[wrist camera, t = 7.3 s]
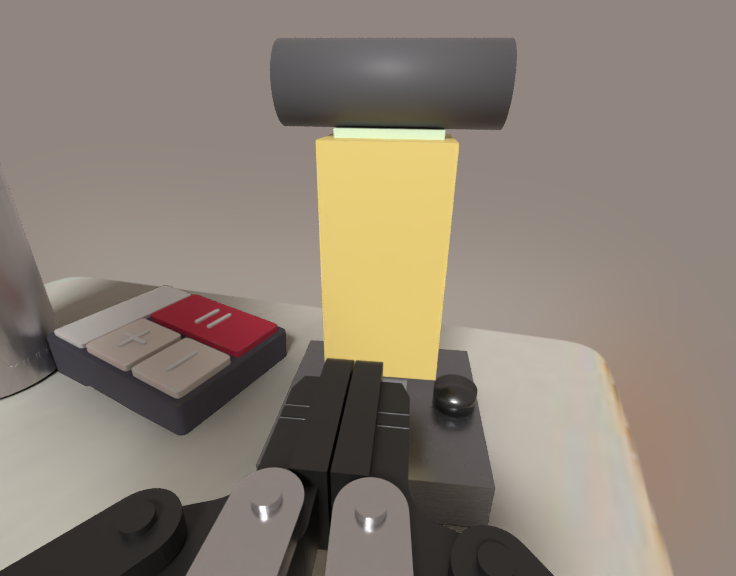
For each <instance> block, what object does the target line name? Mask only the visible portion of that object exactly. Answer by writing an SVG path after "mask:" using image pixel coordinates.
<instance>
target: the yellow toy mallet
mask: <svg viewBox="0 0 736 576" xmlns="http://www.w3.org/2000/svg"><path fill="white" fill-rule="evenodd" d="M516 58H517V50H516V42H515V39H514V38H278V39H276V41H275V42H274V44H273V48H272V52H271V60H270V80H271V90H272V97H273V102H274V106H275V110H276V113H277V116H278V118H279V120H280V122H281V123H282V124H283V125H284V126H314V127H336V128H334V133H333V134H331V135H328V136H325V137H323V138H320V139H318V140H316V157H317V181H318V182H317V183H318V207H319V230H320V231H319V232H320V255H321V280H322V307H323V331H324V356H325V361H326V359H327V358H335V359H348V360H354V361H356V360H363V361H376V362H383V382H393V383H402V384H403V386H404V388H405V390H406V387H407V378H411V379H424V380H436V370H437V360H438V350H439V340H440V330H441V320H442V310H443V299H444V290H445V279H446V270H447V260H448V250H449V240H450V230H451V220H452V210H453V200H454V189H455V180H456V169H457V159H458V150H459V143H458V142H457V141H456V140H455V139H454V138H453V137H452V136H451V135H450V134H445V129H477V130H481V129H483V130H501V129H502V127H503V126H504V124H505V121H506V119H507V116H508V112H509V108H510V104H511V100H512V95H513V89H514V81H515V73H516V60H517V59H516Z"/></svg>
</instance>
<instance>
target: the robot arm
mask: <svg viewBox="0 0 736 576" xmlns="http://www.w3.org/2000/svg"><path fill="white" fill-rule="evenodd" d="M58 328H59V327H58V324H57V321H56V318H55V316H54V313H53V309H52V306H51V304H50V301H49V298H48V295H47V292H46V290H45V287H44V284H43V281H42V278H41V276H40V273H39V270H38V267H37V265H36V262H35V259H34V256H33V253H32V250H31V248H30V245H29V242H28V239H27V237H26V234H25V231H24V228H23V225H22V222H21V220H20V217H19V214H18V211H17V208H16V206H15V203H14V200H13V197H12V195H11V192H10V189H9V186H8V184H7V181H6V178H5V175H4V172H3V170H2V167H1V164H0V398H2V397H5V396H8V395H11V394H13V393H15V392H18V391H20V390H22V389H25V388H27V387H29V386H30V385H32V384H34V383H36V382H38V381H40V380H41V379H43V378H44V377H46V376H47V375H49V374H50V373H52V372H53V371H54V370H55V369H56V368H57V366H56V363H55V360H54V358H53V355H52V352H51V349H50V346H49V343H48V340H47V335H48V334H50V333H52V332H54V331H55V330H56V329H58ZM409 414H410V397H409V395H408V393H407V391H406V390H405V388H404V386H403V384H402V383H393V382H383V362H376V361H363V360H356V361H354V360H348V359H335V358H327V359H326V361H325V363H324V366H323V369H322V372H321V375H320V377H317V376H304V377H303V378H302V379H301V380H300V381H299V382H298V383H297V384H295V385H294V386H293V387H292V389H291V391H290V393H289V396H288V398H287V401H286V404H285V406H284V408H283V410H282V412H281V415H280V419H278V422H277V424H276V427H275V429H274V431H273V434H272V436H271V438H270V441H269V443H268V445H267V448H266V450H265V453H264V455H263V457H262V460H261V462H260V464H259V467H258V469H257V471H255V472H253V473H251V474H249V475H248V476H246V477H245V478H244V479H242V480H241V481H240V482H239V483H238V484H237V485H236V487H235V488H234V489H233V491H232V493H231V494H230V495H228V496H225V497H223V498H220V499H216V500H211V501H206V502H201V503H196V504H191V505H186V506H182V505H181V502H180V500H179V498H178V497H177V496H176V494H174V493H173V492H171V491H169V490H166V489H161V488H153V489H146V490H142V491H139V492H136V493H134V494H132V495H130V496H128V497H126V498H124V499H122V500H121V501H119V502H117V503H115V504H114V505H112V506H110V507H109V508H107V509H105V510H104V511H102V512H100V513H98V514H97V515H95V516H93V517H92V518H90V519H88V520H86V521H85V522H83V523H81V524H80V525H78V526H76V527H74V528H73V529H71V530H69V531H68V532H66V533H64V534H63V535H61V536H59V537H57V538H56V539H54V540H52V541H51V542H49V543H47V544H45V545H44V546H42V547H40V548H39V549H37V550H35V551H34V552H32V553H30V554H28V555H27V556H25V557H23V558H22V559H20V560H18V561H16V562H15V563H13V564H11V565H10V566H8V567H6V568H4V569H3V570H1V571H0V576H312V572H313V568H314V563H315V558H316V554H317V549H322V550H328V552H327V561H326V569H325V576H554V575H553V574H552V573H551V572H550V571H549V570H548V569H547V568H546V567H545V566H544V565H543V564H542V563H541V562H540V561H539V560H538V559H537V558H536V557H535V556H534V555H533V554H532V553H531V552H530V550H529V549H528V548H527V547H526V546H525V545H524V544H523V543H522V542H521V541H519V540H518V539H517V538H516V537H514V536H513V535H512V534H510V533H508V532H506V531H505V530H502V529H500V528H497V527H493V526H486V525H480V526H474V527H471V528H468V529H466V530H465V531H463V532H462V533H461V534H460V533H457V532H455V531H453V530H451V529H448V528H446V527H444V526H442V525H439V524H438V523H436V522H434V521H432V520H431V519H429V518H428V517H426V516H425V515H424V514H423V513H422V512H421V511H420V510H419V509H418V507H417V506H416V505H415V503H414V501H413V500H412V497H411V495H410V491H409V485H408V472H409Z"/></svg>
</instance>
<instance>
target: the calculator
mask: <svg viewBox="0 0 736 576" xmlns="http://www.w3.org/2000/svg"><path fill="white" fill-rule="evenodd" d="M47 340H48V343H49V346H50V349H51V352H52V355H53V358H54V360H55V363H56V366H57V369H58V371H59V372H60V373H62V374H64V375H66V376H68V377H70V378H71V379H73V380H75V381H77V382H79V383H81V384H83V385H85V386H91V387H93V388H95V389H96V390H98V391H100V392H101V393H103V394H105V395H107V396H108V397H110V398H112V399H113V400H115V401H117V402H119V403H120V404H122V405H124V406H125V407H127V408H129V409H131V410H132V411H134V412H136V413H138V414H140V415H141V416H143V417H145V418H147V419H149V420H151V421H153V422H155V423H156V424H158V425H160V426H162V427H164V428H166V429H168V430H170V431H171V432H173V433H175V434H177V435H185V434H187V433H189V432H190V431H192V430H193V429H194V428H195V427H197V426H198V425H199V424H201V423H202V422H203V421H204V420H206V419H207V418H208V417H209V416H211V415H212V414H213V413H215V412H216V411H217V410H218V409H220V408H221V407H222V406H223V405H225V404H226V403H227V402H229V401H230V400H231V399H232V398H234V397H235V396H236V395H237V394H239V393H240V392H241V391H243V390H244V389H245V388H246V387H248V386H249V385H250V384H251V383H253V382H254V381H255V380H257V379H258V378H259V377H260V376H262V375H263V374H264V373H265V372H267V371H268V370H269V369H271V368H272V367H273V366H274V365H276V364H277V363H278V362H279V361H281V360H282V359H283V358H285V357H286V334H285V329H283V328H281V327H278V326H277V324H275V323H272V322H270V321H267V320H264V319H262V318H259V317H256V316H253V315H251V314H248V313H245V312H243V311H240V310H237V309H235V308H232V307H229V306H226V305H224V304H221V303H218V302H216V301H213V300H210V299H207V298H205V297H202V296H199V295H196V294H194V295H192V294H189V293H187V292H184V291H181V290H179V289H176V288H173V287H171V286H168V285H163V286H160V287H158V288H155V289H153V290H151V291H148V292H146V293H143V294H141V295H138V296H136V297H134V298H131V299H129V300H126V301H124V302H121V303H119V304H116V305H114V306H112V307H109V308H107V309H104V310H102V311H99V312H97V313H94V314H92V315H90V316H87V317H85V318H82V319H80V320H77V321H75V322H73V323H70V324H68V325H65V326H63V327H60V328H58V329H56V330H55V331H54V332H52V333H50V334H48V335H47Z"/></svg>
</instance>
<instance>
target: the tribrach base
mask: <svg viewBox="0 0 736 576" xmlns="http://www.w3.org/2000/svg"><path fill="white" fill-rule="evenodd" d="M324 363H325V356H324V341H310V344H309V346H308V348H307V350H306V353H305V355H304V357H303V359H302V362H301V364H300V366H299V368H298V371H297V373H296V375H295V378H294V380H293V382H292V384H291V387H290V389H289V391H288V393H287V396H286V398H285V400H284V403H283V405H282V407H281V409H280V412H279V414H278V416H277V418H276V421H275V423H274V425H273V427H272V430H271V432H270V434H269V437H268V439H267V441H266V443H265V446H264V448H263V450H262V452H261V455H260V457H259V459H258V461H257V464H256V467H257V469H258V467H259V464H260V462H261V460H262V457H263V455H264V453H265V450H266V448H267V445H268V443H269V441H270V438H271V436H272V434H273V431H274V429H275V427H276V424H277V422H278V419H280V415H281V412H282V410H283V408H284V406H285V404H286V401H287V398H288V396H289V393H290V391H291V389H292V387H293V386H294V385H295V384H297V383H298V382H299V381H300V380H301V379H302V378H303V377H304V376H317V377H320V375H321V372H322V369H323V366H324ZM406 391H407V393H408V395H409V397H410V414H409V472H408V485H409V491H410V495H411V497H412V500H413V501H414V503H415V505H416V506H417V507H418V509H419V510H420V511H421V512H422V513H423V514H424V515H425V516H426V517H428V518H429V519H431V520H432V521H434V522H436V523H438V524H447V525H457V526H466V527H474V526H480V525H486V526H487V525H488V520H489V515H490V511H491V506H492V501H493V496H494V491H495V485H494V480H493V476H492V471H491V466H490V461H489V456H488V451H487V446H486V441H485V437H484V432H483V427H482V422H481V417H480V412H479V407H478V402H477V398H476V396H477V387H476V385H475V384H474V383H473V378H472V373H471V368H470V363H469V359H468V354H467V351H458V350H443V349H439V350H438V360H437V370H436V380H424V379H411V378H407V387H406Z"/></svg>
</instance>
